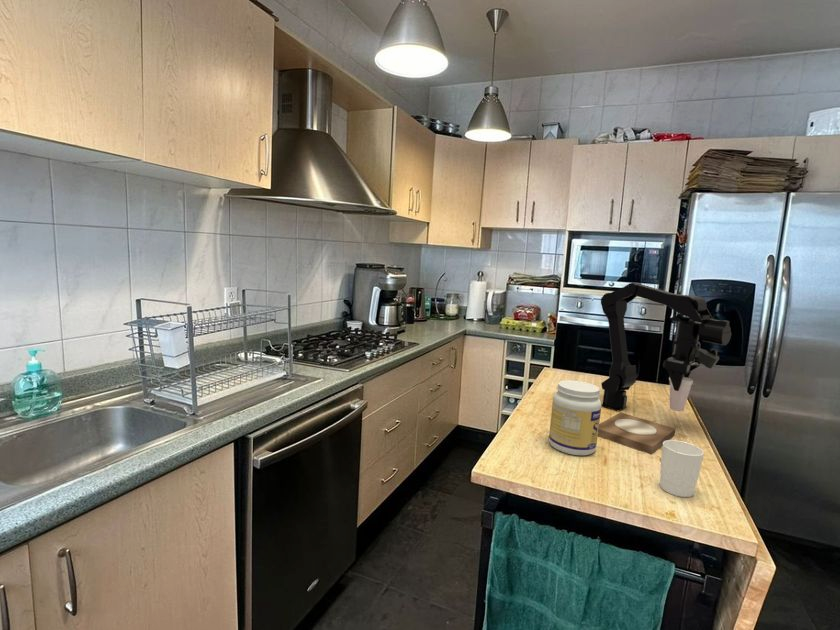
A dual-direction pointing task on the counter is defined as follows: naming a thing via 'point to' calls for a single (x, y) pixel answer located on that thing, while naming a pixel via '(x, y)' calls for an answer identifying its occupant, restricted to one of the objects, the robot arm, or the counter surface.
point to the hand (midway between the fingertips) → (679, 388)
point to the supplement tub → (575, 417)
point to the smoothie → (680, 394)
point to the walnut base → (635, 432)
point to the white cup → (680, 467)
